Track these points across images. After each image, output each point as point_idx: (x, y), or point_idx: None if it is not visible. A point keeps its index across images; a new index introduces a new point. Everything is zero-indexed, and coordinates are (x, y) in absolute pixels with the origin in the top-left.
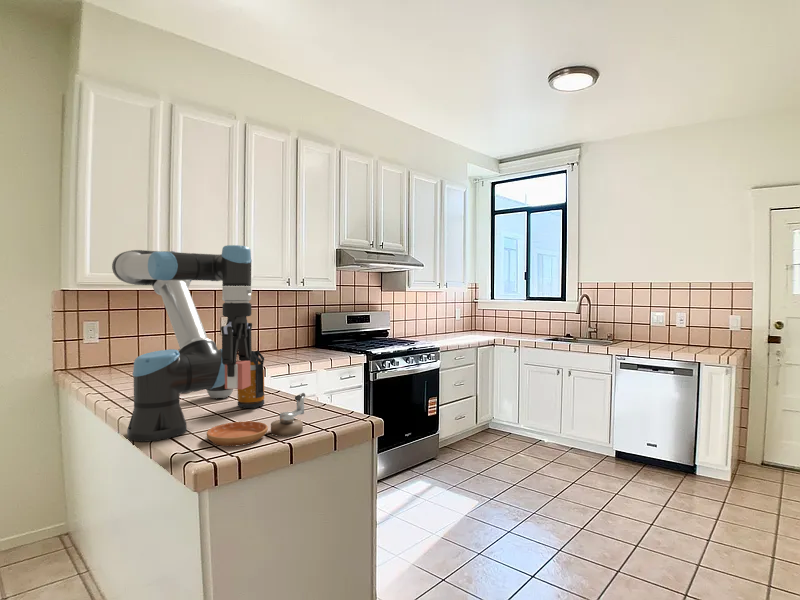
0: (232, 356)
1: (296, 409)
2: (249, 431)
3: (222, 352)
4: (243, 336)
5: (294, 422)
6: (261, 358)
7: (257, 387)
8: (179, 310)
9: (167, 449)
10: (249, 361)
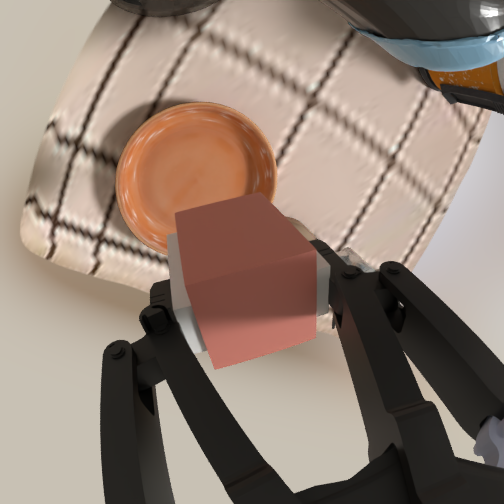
0: (153, 409)
1: (347, 255)
2: (242, 180)
3: (102, 409)
4: (374, 457)
5: None
6: None
7: (460, 93)
8: None
9: (66, 81)
10: (304, 340)
